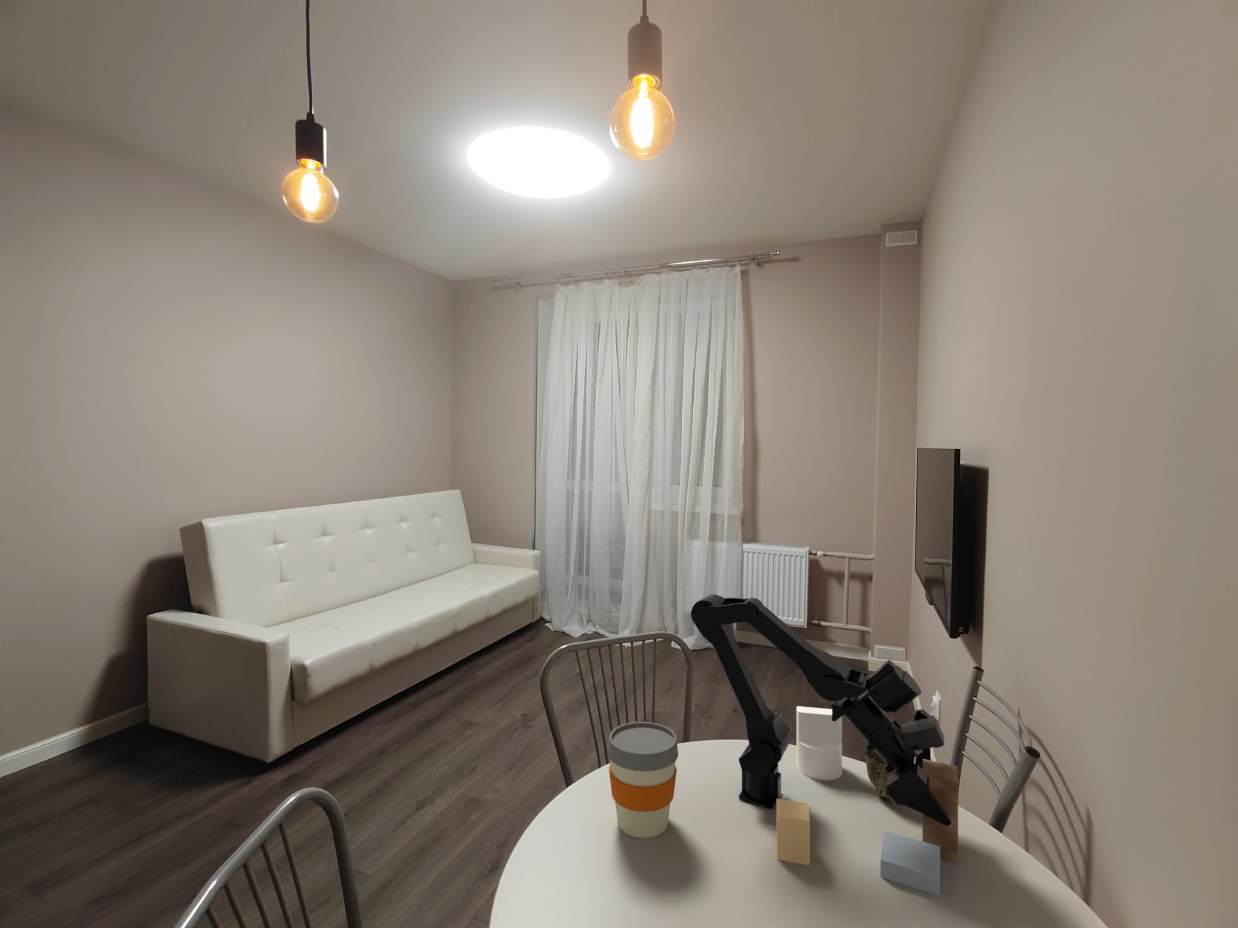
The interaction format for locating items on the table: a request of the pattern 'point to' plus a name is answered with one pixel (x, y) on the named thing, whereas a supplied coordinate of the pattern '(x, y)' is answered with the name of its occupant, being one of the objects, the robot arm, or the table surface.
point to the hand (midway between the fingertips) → (948, 808)
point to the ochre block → (793, 832)
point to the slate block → (911, 862)
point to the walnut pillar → (947, 796)
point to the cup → (877, 772)
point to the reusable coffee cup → (642, 776)
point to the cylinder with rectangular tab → (819, 743)
